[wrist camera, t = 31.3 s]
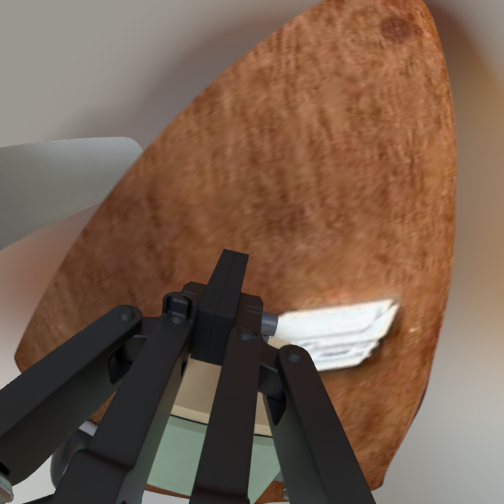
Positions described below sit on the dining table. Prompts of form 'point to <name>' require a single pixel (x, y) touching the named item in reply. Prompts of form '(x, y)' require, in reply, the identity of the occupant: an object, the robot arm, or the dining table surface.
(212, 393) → the drawer
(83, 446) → the black bell
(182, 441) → the cabinet
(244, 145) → the dining table surface
